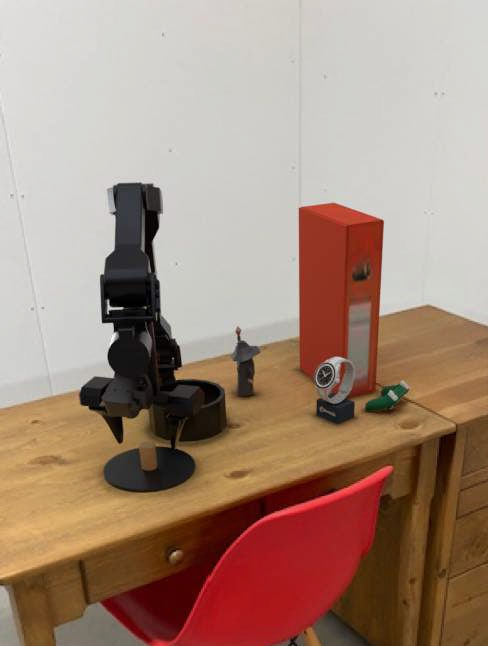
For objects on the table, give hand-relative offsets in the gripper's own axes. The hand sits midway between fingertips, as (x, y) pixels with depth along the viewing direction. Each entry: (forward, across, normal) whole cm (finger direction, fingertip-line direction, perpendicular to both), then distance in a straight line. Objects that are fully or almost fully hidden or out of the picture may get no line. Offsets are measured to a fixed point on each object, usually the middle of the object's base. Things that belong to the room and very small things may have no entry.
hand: (147, 446), depth 126 cm
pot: (+5, 0, +17) cm, 18 cm away
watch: (+5, +25, +28) cm, 38 cm away
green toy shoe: (+5, +33, +36) cm, 49 cm away
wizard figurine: (+5, +5, +35) cm, 36 cm away
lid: (+4, 0, 0) cm, 4 cm away
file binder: (+5, +21, +45) cm, 50 cm away
